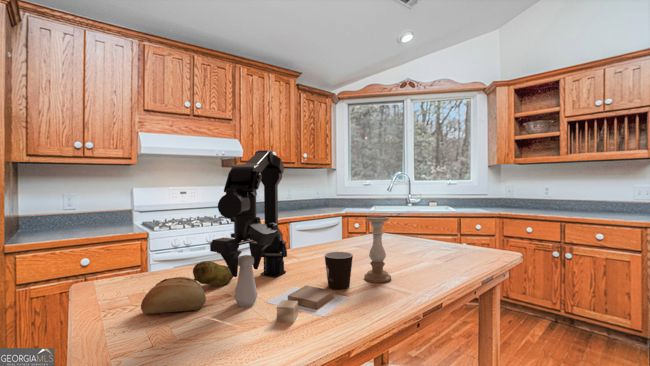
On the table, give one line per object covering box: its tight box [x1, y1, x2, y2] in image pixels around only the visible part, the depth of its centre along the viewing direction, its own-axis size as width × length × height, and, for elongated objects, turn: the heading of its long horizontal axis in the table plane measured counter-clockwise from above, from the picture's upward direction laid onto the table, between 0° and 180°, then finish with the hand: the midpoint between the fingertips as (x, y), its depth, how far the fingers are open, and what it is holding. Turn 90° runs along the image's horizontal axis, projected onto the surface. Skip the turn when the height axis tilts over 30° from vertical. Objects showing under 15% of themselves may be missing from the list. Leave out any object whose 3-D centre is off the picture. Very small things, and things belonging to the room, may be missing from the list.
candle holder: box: [363, 215, 392, 284], centre depth 103 cm, size 9×9×20 cm
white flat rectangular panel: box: [264, 286, 350, 317], centre depth 85 cm, size 18×14×1 cm
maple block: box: [276, 300, 299, 324], centre depth 73 cm, size 4×4×4 cm
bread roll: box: [140, 276, 207, 315], centre depth 80 cm, size 10×15×8 cm, turn 110°
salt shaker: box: [234, 254, 258, 308], centre depth 83 cm, size 6×6×13 cm
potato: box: [192, 260, 234, 287], centre depth 99 cm, size 8×13×8 cm, turn 121°
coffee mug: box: [324, 251, 353, 291], centre depth 97 cm, size 12×9×10 cm
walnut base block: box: [288, 285, 335, 310], centre depth 84 cm, size 9×9×2 cm
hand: (245, 272), depth 83 cm, fingers open, 7 cm apart
